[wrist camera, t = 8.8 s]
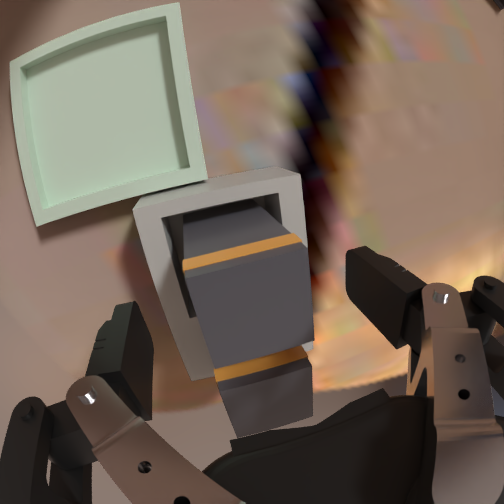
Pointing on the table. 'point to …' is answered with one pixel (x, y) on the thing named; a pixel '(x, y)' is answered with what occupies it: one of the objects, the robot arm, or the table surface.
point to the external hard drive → (500, 3)
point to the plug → (246, 282)
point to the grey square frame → (182, 310)
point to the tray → (106, 114)
